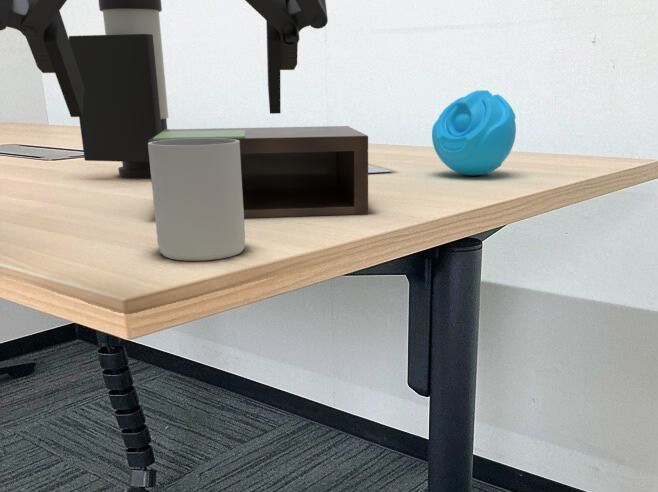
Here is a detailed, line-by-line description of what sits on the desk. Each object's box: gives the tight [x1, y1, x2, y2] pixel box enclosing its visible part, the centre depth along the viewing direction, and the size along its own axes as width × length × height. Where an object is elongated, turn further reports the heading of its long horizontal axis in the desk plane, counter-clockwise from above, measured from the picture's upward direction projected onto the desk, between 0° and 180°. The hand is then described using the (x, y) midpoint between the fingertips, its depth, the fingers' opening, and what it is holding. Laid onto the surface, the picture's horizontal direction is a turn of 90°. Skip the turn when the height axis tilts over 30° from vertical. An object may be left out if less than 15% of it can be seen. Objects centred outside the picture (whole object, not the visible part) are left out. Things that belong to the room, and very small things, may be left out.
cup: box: [148, 138, 246, 262], centre depth 62 cm, size 7×10×9 cm
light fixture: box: [68, 0, 169, 179], centre depth 107 cm, size 12×11×25 cm
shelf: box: [148, 125, 369, 219], centre depth 84 cm, size 22×16×8 cm
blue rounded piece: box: [431, 89, 517, 177], centre depth 106 cm, size 12×11×12 cm
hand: (177, 100), depth 53 cm, fingers open, 13 cm apart
